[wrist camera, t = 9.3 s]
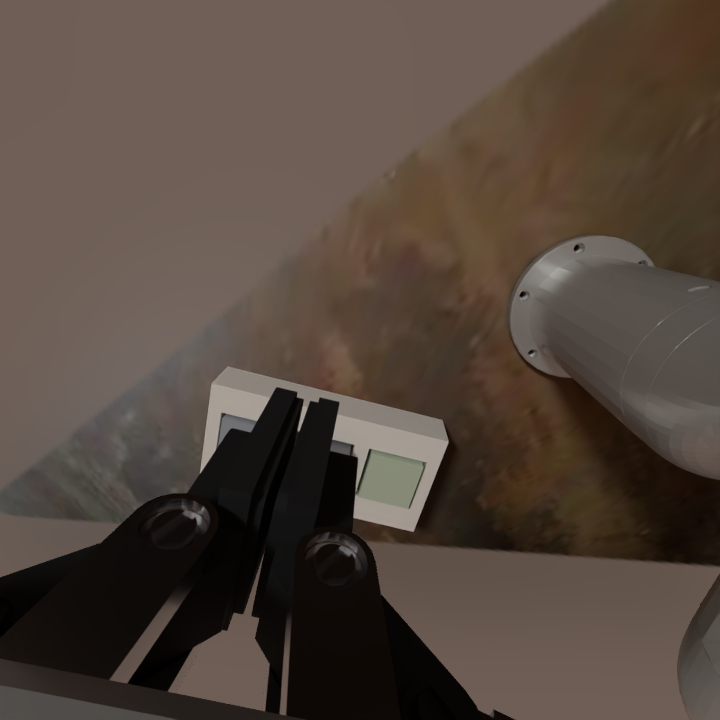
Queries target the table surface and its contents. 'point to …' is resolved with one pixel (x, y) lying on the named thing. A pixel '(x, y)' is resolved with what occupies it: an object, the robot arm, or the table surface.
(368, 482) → the sage key
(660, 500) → the table surface
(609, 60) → the table surface
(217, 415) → the keypad
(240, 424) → the slate key
